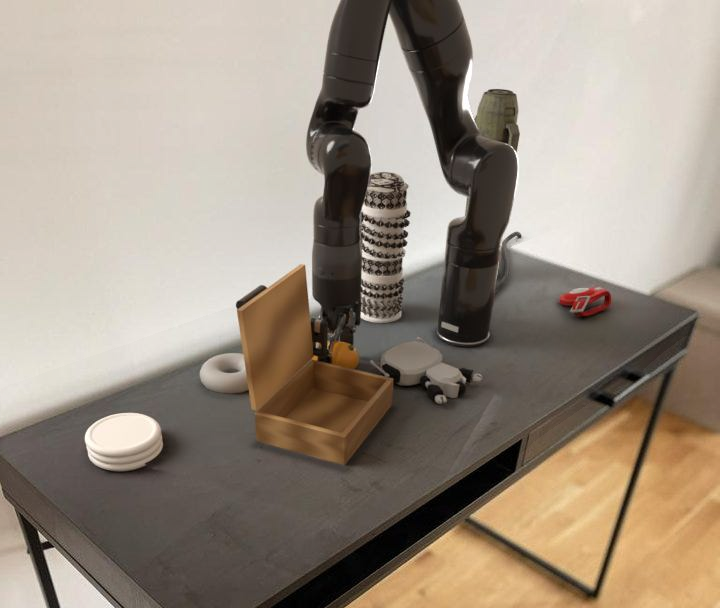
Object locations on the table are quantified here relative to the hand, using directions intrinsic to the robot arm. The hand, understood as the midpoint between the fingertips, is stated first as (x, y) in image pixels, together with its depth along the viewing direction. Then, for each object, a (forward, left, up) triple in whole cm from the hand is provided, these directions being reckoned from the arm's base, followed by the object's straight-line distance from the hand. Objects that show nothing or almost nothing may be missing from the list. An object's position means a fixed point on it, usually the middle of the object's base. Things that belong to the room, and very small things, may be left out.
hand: (335, 364), depth 124 cm
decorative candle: (-24, -2, -1) cm, 24 cm away
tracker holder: (-44, +32, -1) cm, 54 cm away
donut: (+11, -13, -1) cm, 17 cm away
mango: (0, 0, -1) cm, 1 cm away
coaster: (+34, -16, -1) cm, 38 cm away
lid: (+16, -1, +12) cm, 20 cm away
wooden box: (+16, +6, -1) cm, 17 cm away
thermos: (-52, +9, -1) cm, 53 cm away
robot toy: (-2, +15, -1) cm, 15 cm away
